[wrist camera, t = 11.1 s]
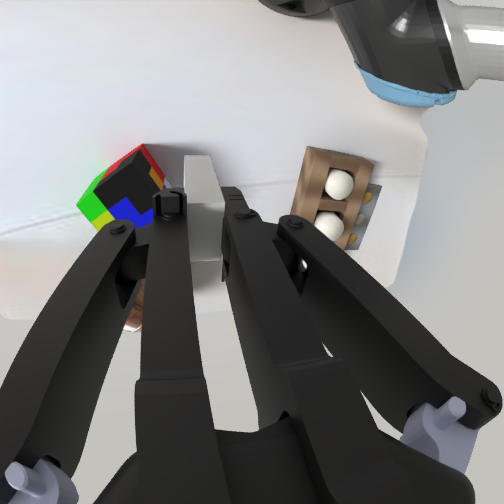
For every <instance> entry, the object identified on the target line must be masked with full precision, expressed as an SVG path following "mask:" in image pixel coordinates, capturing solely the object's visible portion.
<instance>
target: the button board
mask: <svg viewBox="0 0 504 504" xmlns="http://www.w3.org/2000/svg"><path fill="white" fill-rule="evenodd" d="M373 166H374V164H372V163H371V162H369V161H367V160H366V159H364V158H362V157H358V156H354V155H349V154H345V153H340V152H335V151H330V150H325V149H319V148H314V147H308V146H307V147H306V151H305V156H304V160H303V164H302V168H301V172H300V176H299V180H298V184H297V188H296V192H295V196H294V200H293V204H292V208H291V212H290V215H298V216H300V217H302V218H305V219H306V220H308V221H309V222H310V223H312V224H313V223H314V219H315V216H316V213H317V209H318V210H329V211H333V212H334V213H335V214H336V216H337V217H338V218H339V219H340V220H341V221H342V222H343V224H344V230H343V233H342V235H341V236H340V237H339V238H338V239H337V240H335V241H333V242H334V243H335V244H336V245H337V246H339V247H340V248H341V249H342V250H343V251H344V250H358V248H359V245H360V243H361V241H362V238H363V236H364V233H365V231H366V228H367V225H368V223H369V220H370V218H371V215H372V212H373V210H374V207H375V204H376V201H377V199H378V196H379V193H380V190H381V187H382V186H380V185H374V184H369V183H368V182H369V179H370V176H371V173H372V170H373ZM329 167H333V168H339V169H344V170H345V172H346V173H347V174H348V175H350V176H351V177H352V179H353V183H354V185H353V189H352V192H351V193H350V194H349V195H348V196H347V197H346V198H344V199H341V200H336V199H334V198H332V197H331V196H330V195H329V194H328V193H327V192H325V191H323V189H324V185H325V181H326V178H327V174H328V171H329ZM301 267H302V268H303V269H304V270H306V268H305V267H304V265H303V263H302V265H301Z"/></svg>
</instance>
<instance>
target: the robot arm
mask: <svg viewBox="0 0 504 504" xmlns="http://www.w3.org/2000/svg"><path fill="white" fill-rule="evenodd" d="M259 1H260V2H261V3H262V4H264V5H265V6H267V7H268V8H270V9H272V10H274V11H276V12H279V13H282V14H285V15H289V16H297V17H304V16H311V15H315V14H318V13H321V12H324V11H326V10H328V9H330V11H331V12H332V14H333V16H334V18H335V20H336V22H337V24H338V26H339V28H340V30H341V32H342V34H343V36H344V38H345V40H346V42H347V44H348V46H349V49H350V51H351V53H352V55H353V58H354V63H355V65H356V67H357V68H358V69H359V70H360V72H361V74H362V77H363V79H364V81H365V83H366V85H367V87H368V89H369V90H370V91H371V92H372V93H374V94H375V95H377V97H379V98H381V99H383V100H385V101H388V102H391V103H394V104H399V105H404V106H413V107H433V106H434V104H437V105H444V104H447V103H449V102H451V101H452V100H453V99H454V98H455V95H456V92H457V90H468V89H469V88H470V87H471V86H472V84H473V83H474V82H475V81H476V80H477V79H479V78H482V79H491V80H499V81H504V8H495V7H482V6H460V5H457V4H454V3H453V2H452V1H450V0H259ZM152 206H153V221H152V222H151V223H150V224H147V225H145V226H142V227H138V228H135V225H134V223H133V222H131V221H130V220H125V219H116V220H112V221H111V222H109V223H106V224H105V225H104V226H103V227H102V228H101V229H100V230H99V232H98V233H97V234H96V235H95V237H94V238H93V239H92V240H91V242H90V243H89V244H88V245H87V247H86V248H85V249H84V251H83V252H82V253H81V254H80V256H79V257H78V258H77V260H76V261H75V263H74V264H73V265H72V267H71V268H70V269H69V271H68V272H67V274H66V275H65V276H64V278H63V279H62V281H61V282H60V284H59V285H58V286H57V288H56V289H55V291H54V292H53V294H52V295H51V297H50V298H49V300H48V302H47V303H46V305H45V306H44V308H43V309H42V311H41V313H40V314H39V316H38V318H37V319H36V321H35V323H34V324H33V326H32V328H31V329H30V331H29V333H28V335H27V337H26V338H25V340H24V342H23V344H22V346H21V347H20V349H19V351H18V353H17V355H16V357H15V359H14V361H13V363H12V365H11V367H10V369H9V371H8V373H7V375H6V377H5V379H4V382H3V384H2V386H1V388H0V504H77V502H78V499H79V495H78V493H77V490H76V487H75V485H74V483H73V482H72V480H71V478H72V476H73V475H74V472H75V470H76V468H77V466H78V463H79V461H80V458H81V455H82V452H83V449H84V446H85V442H86V438H87V434H88V431H89V427H90V423H91V420H92V417H93V413H94V410H95V407H96V404H97V400H98V397H99V394H100V391H101V388H102V385H103V382H104V379H105V376H106V373H107V371H108V368H109V365H110V362H111V359H112V357H113V354H114V351H115V348H116V346H117V343H118V341H119V338H120V336H121V333H122V331H123V328H124V326H125V323H126V321H127V318H128V316H129V313H130V311H131V309H132V306H133V304H134V302H135V299H136V297H137V295H138V292H139V290H140V288H141V286H142V279H144V278H145V287H144V299H143V313H142V330H141V362H140V364H141V366H140V379H139V380H137V381H136V384H135V429H136V445H137V446H136V447H137V452H136V453H134V454H133V455H131V456H130V457H129V459H127V460H126V461H125V462H124V464H123V465H122V466H121V468H120V469H119V470H118V471H117V473H116V474H115V475H114V477H113V478H112V479H111V481H110V482H109V483H108V485H107V486H106V487H105V489H104V490H103V491H102V493H101V494H100V495H99V496H98V498H97V499H96V500H95V502H94V503H93V504H475V492H474V488H473V486H472V484H471V482H470V480H469V479H468V478H467V477H466V476H465V475H464V473H465V471H466V468H467V466H468V463H469V460H470V457H471V454H472V451H473V448H474V444H475V441H476V438H477V433H478V431H479V429H480V428H481V427H482V426H484V425H485V424H486V423H488V422H489V421H491V420H492V419H493V418H495V417H496V416H497V415H498V414H499V413H500V412H501V409H502V396H501V393H500V391H499V389H498V387H497V386H496V385H495V384H494V383H493V382H491V381H490V380H488V379H487V378H486V377H484V376H483V375H481V374H479V373H478V372H476V371H475V370H473V369H472V368H471V367H469V366H467V365H466V364H464V363H463V362H461V361H460V360H458V359H457V358H455V357H454V356H452V355H451V354H450V353H449V352H448V351H447V350H446V349H445V348H444V347H443V346H442V344H440V343H439V341H438V340H437V339H436V338H435V337H433V335H432V334H431V333H430V332H429V331H428V330H427V329H426V328H425V327H424V326H423V325H422V324H421V323H420V322H419V321H418V320H417V319H416V318H415V317H414V316H413V315H412V314H411V313H410V312H409V311H408V310H407V309H406V308H405V307H404V306H403V305H402V304H401V303H400V302H399V301H398V300H397V299H395V298H394V297H393V296H392V295H391V294H390V293H389V292H388V291H387V290H386V289H385V288H384V287H383V286H382V285H381V284H380V283H379V282H377V281H376V280H375V279H374V278H373V277H372V276H371V275H370V274H369V273H368V272H367V271H365V270H364V269H363V268H362V267H361V266H360V265H359V264H358V263H357V262H355V261H354V260H353V259H352V258H351V257H350V256H349V255H348V254H346V253H345V252H344V251H343V250H342V249H341V248H340V247H339V246H337V245H336V244H335V243H334V242H333V241H332V240H330V239H329V238H328V237H327V236H326V235H325V234H323V233H322V232H321V231H320V230H319V229H318V228H316V227H315V226H314V225H313V224H312V223H310V222H309V221H308V220H306V219H305V218H302V217H300V216H298V215H285V216H282V217H280V218H279V223H278V224H274V223H268V222H264V221H262V219H261V217H260V215H259V214H258V213H257V212H256V211H254V210H252V209H249V207H248V205H247V203H246V201H245V199H244V197H243V195H242V193H241V191H240V190H239V189H237V188H236V187H220V185H219V182H218V179H217V176H216V173H215V170H214V167H213V164H212V160H211V157H210V155H184V188H164V189H163V190H162V191H160V192H157V193H155V194H154V195H153V196H152ZM222 254H223V268H222V282H224V280H225V281H226V285H227V290H228V294H229V298H230V303H231V307H232V311H233V315H234V320H235V324H236V328H237V332H238V336H239V340H240V344H241V348H242V353H243V356H244V360H245V364H246V368H247V372H248V376H249V379H250V384H251V388H252V391H253V395H254V399H255V402H256V406H257V411H258V425H259V430H258V431H256V432H251V433H248V432H247V433H246V432H234V431H225V430H216V429H214V423H213V418H212V413H211V407H210V401H209V395H208V390H207V384H206V380H205V377H204V374H203V368H202V361H201V354H200V346H199V340H198V331H197V323H196V314H195V306H194V296H193V286H192V276H191V265H190V262H200V261H221V255H222ZM303 260H304V262H305V263H306V265H307V267H306V270H304V269H303V268H302V267H301V265H302V261H303ZM321 341H322V342H321ZM322 343H323V344H324V345H325V346H326V348H327V349H328V350H329V351H330V353H331V354H332V355H333V357H330V356H329V355H328V354H327V352H326V350H325V348H324V346H323V344H322ZM360 390H361V391H360ZM361 392H362V393H363V394H364V395H365V397H366V398H367V399H368V400H369V402H370V403H371V404H372V406H373V407H374V408H375V409H376V410H377V411H378V413H379V414H380V415H381V416H382V417H383V418H384V419H385V420H386V421H387V422H388V423H389V424H391V425H392V426H393V427H394V428H395V429H397V430H398V431H399V432H401V433H402V434H403V435H402V436H401V437H400V440H397V439H395V438H393V437H391V436H390V435H388V434H386V433H384V432H383V431H381V430H379V429H378V427H377V425H376V423H375V421H374V419H373V417H372V415H371V412H370V410H369V408H368V406H367V405H366V402H365V400H364V398H363V396H362V394H361Z"/></svg>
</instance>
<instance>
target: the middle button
mask: <svg viewBox="0 0 504 504" xmlns="http://www.w3.org/2000/svg"><path fill="white" fill-rule="evenodd" d="M313 225H314V226H315V227H316V228H318V229H319V230H320V231H321V232H322V233H323V234H325V235H326V236H327V237H328V238H329V239H330V240H332V241H335V240H337V239H338V238H339V237H340V236H341V235H342V233H343V230H344V224H343V222H342V221H341V220H340V219H339V218H338V217H337V216H336V214H335V213H334V212H333V211H329V210H321V211H319V212H318V213H317V214H316V216H315V219H314V223H313Z"/></svg>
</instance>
